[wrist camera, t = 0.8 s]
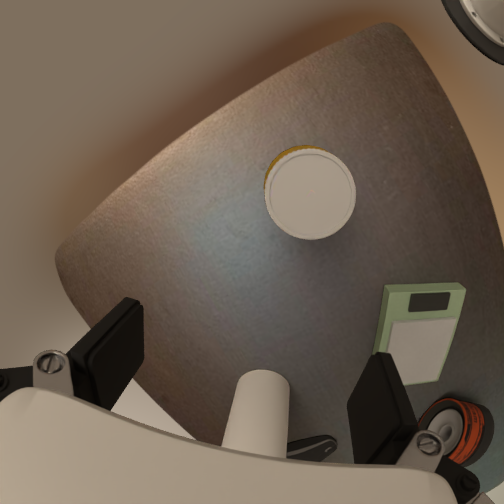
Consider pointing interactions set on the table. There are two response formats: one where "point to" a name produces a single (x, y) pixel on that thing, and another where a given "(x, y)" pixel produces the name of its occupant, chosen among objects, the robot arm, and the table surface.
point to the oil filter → (460, 429)
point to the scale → (418, 327)
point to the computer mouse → (311, 448)
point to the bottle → (309, 192)
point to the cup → (259, 415)
